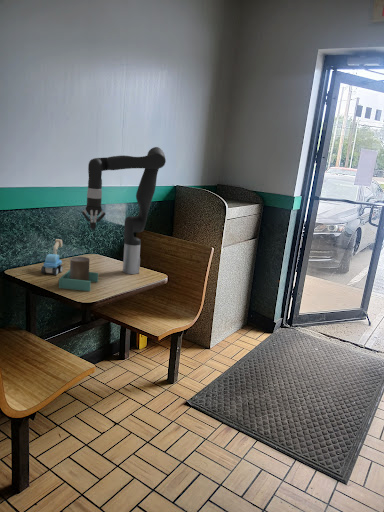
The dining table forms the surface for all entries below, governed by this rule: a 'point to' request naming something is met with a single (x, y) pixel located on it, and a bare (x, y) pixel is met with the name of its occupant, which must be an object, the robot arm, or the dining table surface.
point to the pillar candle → (79, 268)
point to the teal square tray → (77, 282)
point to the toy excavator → (53, 261)
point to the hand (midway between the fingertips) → (92, 229)
